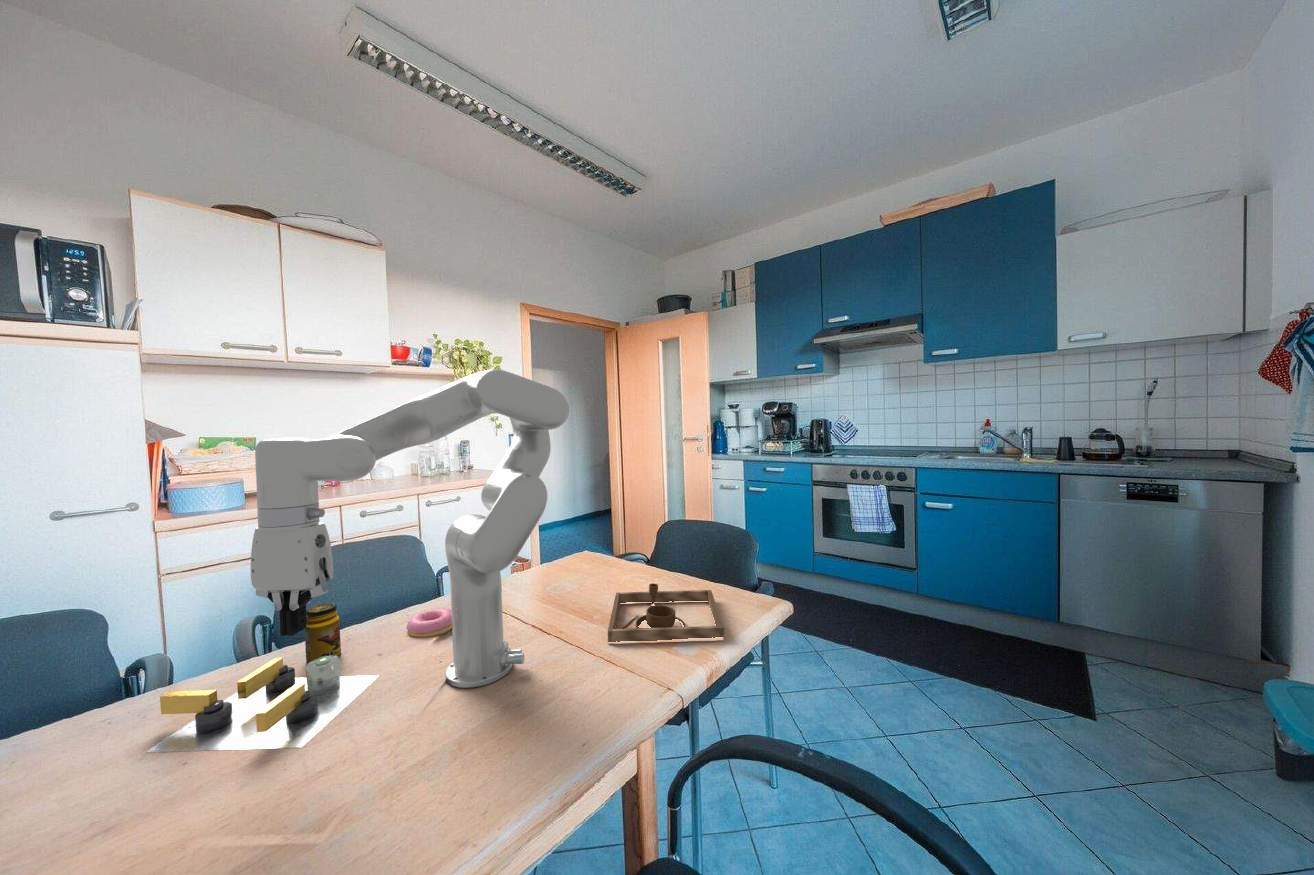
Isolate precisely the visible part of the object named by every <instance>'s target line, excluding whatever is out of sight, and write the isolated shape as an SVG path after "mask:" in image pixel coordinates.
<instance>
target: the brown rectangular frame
mask: <svg viewBox="0 0 1314 875" xmlns="http://www.w3.org/2000/svg"><path fill="white" fill-rule="evenodd" d="M714 597H715V596H714V594H713V591H712V590H711V589H695V590H691V589H690V590H689V589H688V590H663V591H659V590H658V593H657V595H655V598H654V599H655V602H669V601H672V602H674V601H708V602H709V603H708V602H707V603H708V606H709V605H710V607H709V609H710V608H711V610H710V612H711V611H712V613H711V615H712V614H713V617H714V620H715V623H714V625H708V626H707V625H705V626H704V625H702V626H699V625H698V626H685V627H682V626H676V627H675V626H672V627H665V628H636V627H633V628H624V629H622V628H616V629H615V626H616V627H617V623H616V621H617V622H618V618H617V616H619V612H618V610H619V611H620V607H619V605H620V603H626V602H651V599H652V595H650V594H649V591H629V592H628V591H625V592H621V591H620V592H615V595H614V601H613V605H612V610H611V615H610V620H609V623H608V627H607V628H608V629H607V643H608V642H616V641H617V642H620V641H657V640H672V639H688V638H712V637H713V638H715V637H724V638H725V626H724V624H723V621H722V617H721V615H720V612H719V609H718V606H717V603H716V599H715V598H714ZM620 606H621V605H620ZM713 617H712V618H713ZM714 620H713V621H714ZM715 624H716V626H715Z"/></svg>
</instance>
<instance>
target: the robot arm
mask: <svg viewBox="0 0 1314 875" xmlns="http://www.w3.org/2000/svg"><path fill="white" fill-rule="evenodd" d="M491 414H493V415H494V414H497V415H498V414H499V415H501V416H502V415H503V416H505V417H508V418H509V420H510V423H511V427H512V433H513V437H512V442H511V445H510V446H509V448H508V450H507V451H506V452H505V453H506V454H504V456H503V457H502V458H501V461H499V463H498V465H497V466H496V468H495V469H494V470H493V472H492V473H491V475H490V477H488V479H487V480H486V482H485V483H484V485H483V488H482V490H481V494H480V499H481V503H482V505H484V507H485V508H486V509H487V510H488V511H489V512H488V514H487V515H486V516H484V515H482V514H474V513H473V514H466V515H463V516H460V517H459V518H457V519H456V520H455V521H453V522H452V524H450V526H449V528H448V530H447V531H446V535H445V539H444V550H445V551H444V552H445V555H446V556H445V557H446V561H447V567H448V574H449V585H450V586H449V587H450V610H451V614H452V629H451V636H452V637H451V638H452V657H453V662H451V663H450V664H449V665H448V666H447V668H446V670H445V672H444V673H445V674H444V675H445V681H446V683H447V684H449V685H450V686H453V687H456V688H461V689H462V688H463V689H465V688H466V689H467V688H468V689H469V688H476V687H482V686H485V685H488V684H492V683H494V682H497V681H498V680H501V679H502V678H504V677H505V676H506V675H507V674H508V673H509V672H510V670H511V669H512V667H513V665H523V664H524V662H525V657H526V656H525V652H524V653H523V650H522V648H515V649H512V648H510V647H509V641H504V623H503V622H504V619H503V600H502V598H503V597H502V595H503V593H502V591H503V588H502V576H501V575H502V574H501V571H503V570H505V569H507V568H508V567H509V566H510V565H511V564H512V563H513V562H514V560H515V559H516V558H517V557H518V556H519V553H521V550H522V549H523V548H524V546H525V544H526V543H527V541H528V540H529V537H530V536H531V534H532V533H533V531H534V529H535V527H536V526H537V525H538V523H539V521H540V520H541V518H542V517H543V514H544V511H545V510H546V507H547V502H548V490H547V486H546V485H545V483H544V481H543V479H541V477H540V476H541V474H542V472H544V471H543V470H544V468H545V467H546V466H547V463H548V462H549V458H550V456H551V448H552V446H551V436H550V432H549V430H554V429H558V428H560V427H561V426H562V425H564V423H566V421H567V419H568V418H569V416H570V415H569V414H570V405H569V401H568V400H567V398H566V396H565V395H564V394H563V393H562V391H561V392H560V391H559V390H558V389H556V388H553V387H551V386H549V385H546V384H543V383H541V382H538V381H535V380H532V379H529V378H526V377H523V376H521V375H519V374H516V373H513V372H510V371H507V370H503V369H499V368H498V369H497V368H494V369H493V368H492V369H487V370H483V371H478V372H475V373H472V374H469V375H467V376H465V377H462V378H460V379H457V380H455V381H453V382H450V383H448V384H446V385H444V386H441V387H439V388H436V389H434V390H431V391H430V392H428V393H427V392H426V393H425V394H423V395H420V396H418V397H416V398H413V399H411V400H409V401H407V402H404V403H402V404H400V405H398V406H396V407H394V408H392V409H391V410H388V411H385V412H383V413H381V414H379V415H376V416H374V417H372V418H369V419H367V420H365V421H362V422H360V423H358V424H356V425H353V426H351V427H348V428H346V429H343V430H342V431H339V432H337V433H334V434H332V435H330V436H328V437H326V438H320V439H319V438H318V439H317V438H316V439H310V438H307V437H305V438H304V437H282V438H281V437H279V438H277V437H276V438H266V439H262V440H260V441H259V442H258V443H256V445H255V448H254V449H255V451H254V453H255V456H254V459H255V460H254V461H255V479H256V480H255V482H256V506H257V512H256V513H257V527H256V528H255V530H254V533H253V537H252V542H251V543H252V544H251V550H250V580H251V581H250V582H251V585H252V587H253V589H255V595H256V597H257V596H258V597H261V598H265V599H269V601H270V602H272V604H273V607H274V610H275V611H276V612H277V611H278V612H279V634H280V637H285V636H288V637H292V636H295V635H296V634H298V633H300V632H301V631H303V630H305V628H306V623H307V615H306V611H307V605H308V604H310V603H311V600H312V599H313V598H315V597H321V596H323V595H324V594H326V593H328V592H329V586H328V583H327V582H329V581H331V580H333V577H334V561H333V558H334V557H333V553H332V552H333V550H332V546H331V545H332V544H331V540H330V539H331V538H330V535H329V531H328V529H327V526H326V523H325V522H324V521H320V518H323V517H324V516H325V514H326V511H325V509H324V508H320V502H319V501H320V500H319V498H320V496H319V481H321V482H323V481H326V482H327V481H328V482H351V481H352V482H353V481H357V480H359V479H363V478H365V477H366V476H367V475H369V474H370V473H371V472H372V471H373V469H374V467H375V465H376V462H377V461H378V460H379V461H380V460H381V459H383V458H385V457H388V456H390V455H392V454H395V453H396V452H399V451H402V450H405V449H408V448H412V447H416V446H422V445H425V444H429V443H432V442H435V441H438V440H440V439H442V438H444V437H446V436H448V435H450V434H452V433H454V432H456V431H458V430H459V429H461V428H463V427H466V426H468V425H469V424H471V423H474V422H476V421H478V420H480V419H482V418H483V417H486V416H488V415H491Z"/></svg>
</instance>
